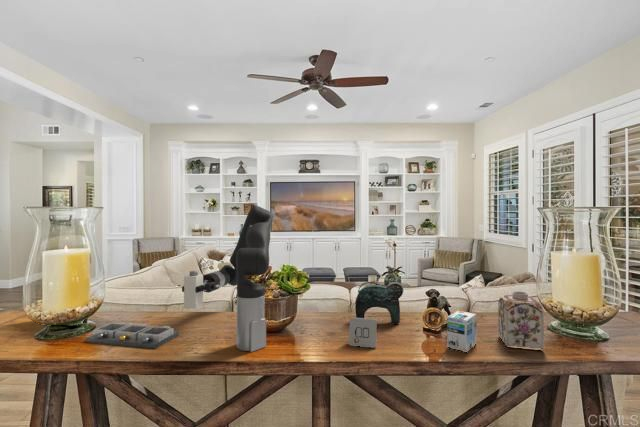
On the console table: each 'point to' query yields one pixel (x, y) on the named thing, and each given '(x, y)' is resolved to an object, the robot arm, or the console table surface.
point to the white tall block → (193, 290)
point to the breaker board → (132, 335)
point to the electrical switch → (362, 332)
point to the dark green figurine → (380, 298)
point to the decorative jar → (521, 320)
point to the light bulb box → (461, 330)
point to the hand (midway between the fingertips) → (189, 289)
